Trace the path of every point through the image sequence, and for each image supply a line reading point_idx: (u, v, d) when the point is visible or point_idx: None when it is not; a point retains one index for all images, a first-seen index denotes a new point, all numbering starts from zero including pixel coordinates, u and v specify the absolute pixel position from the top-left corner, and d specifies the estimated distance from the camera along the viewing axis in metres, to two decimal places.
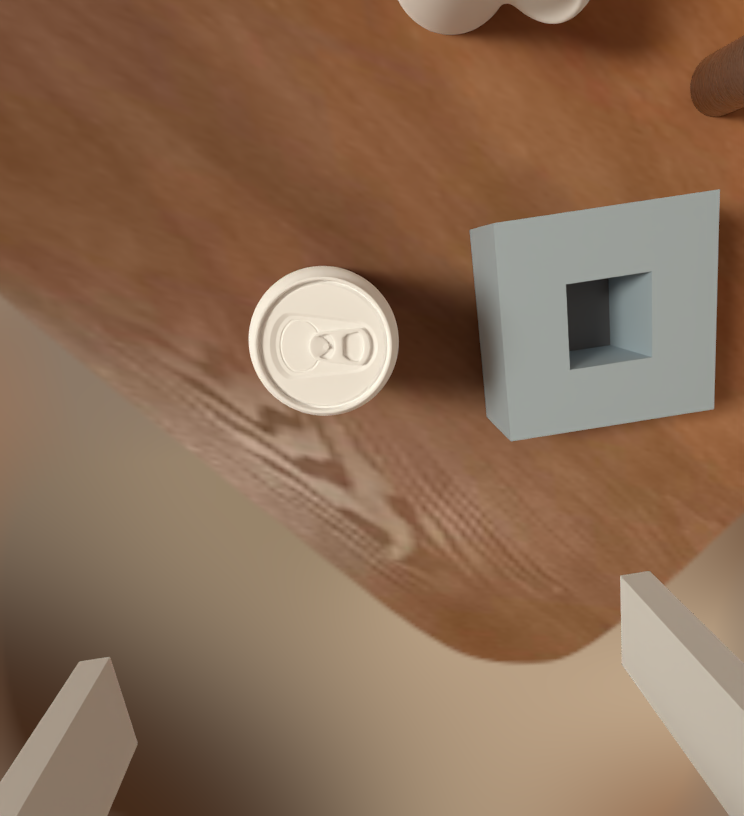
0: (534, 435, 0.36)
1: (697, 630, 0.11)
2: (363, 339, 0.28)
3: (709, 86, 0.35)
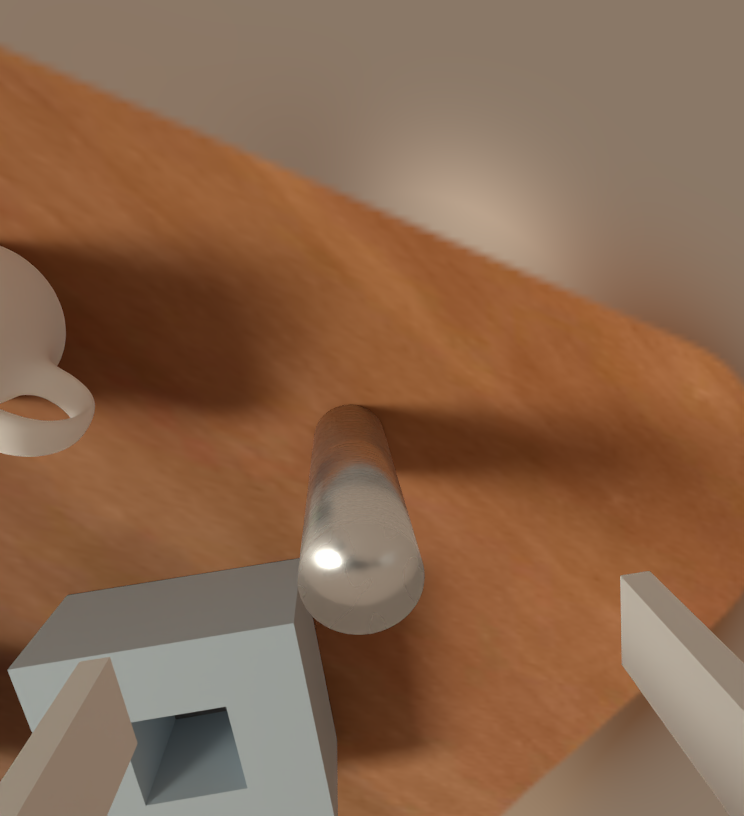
0: None
1: (697, 630, 0.11)
2: None
3: None
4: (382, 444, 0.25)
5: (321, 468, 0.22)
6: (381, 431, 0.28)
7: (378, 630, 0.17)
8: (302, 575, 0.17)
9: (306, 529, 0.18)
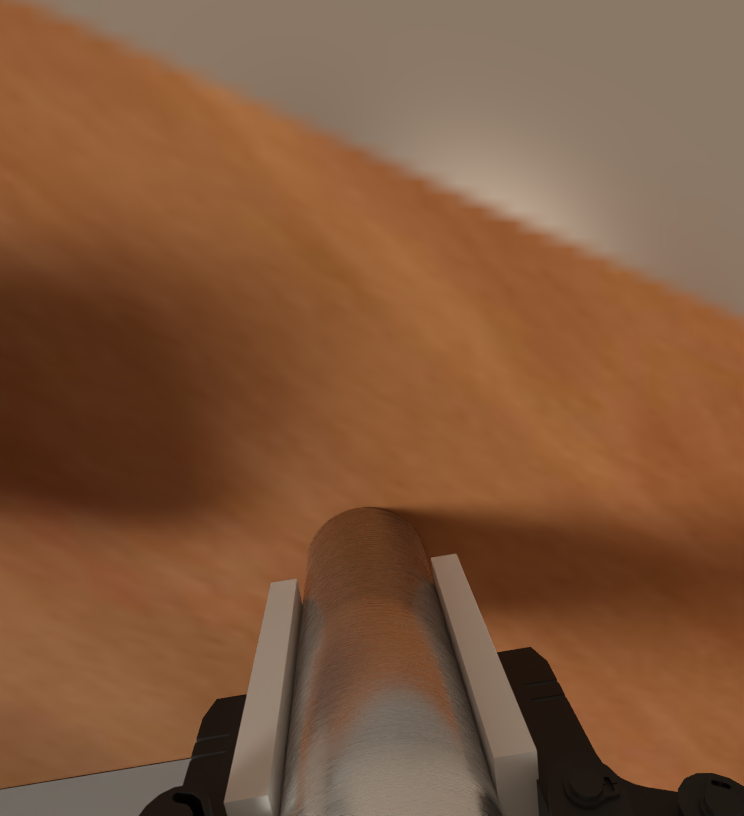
0: None
1: (466, 601, 0.13)
2: None
3: None
4: (434, 620, 0.13)
5: (314, 727, 0.10)
6: (425, 568, 0.16)
7: None
8: None
9: None
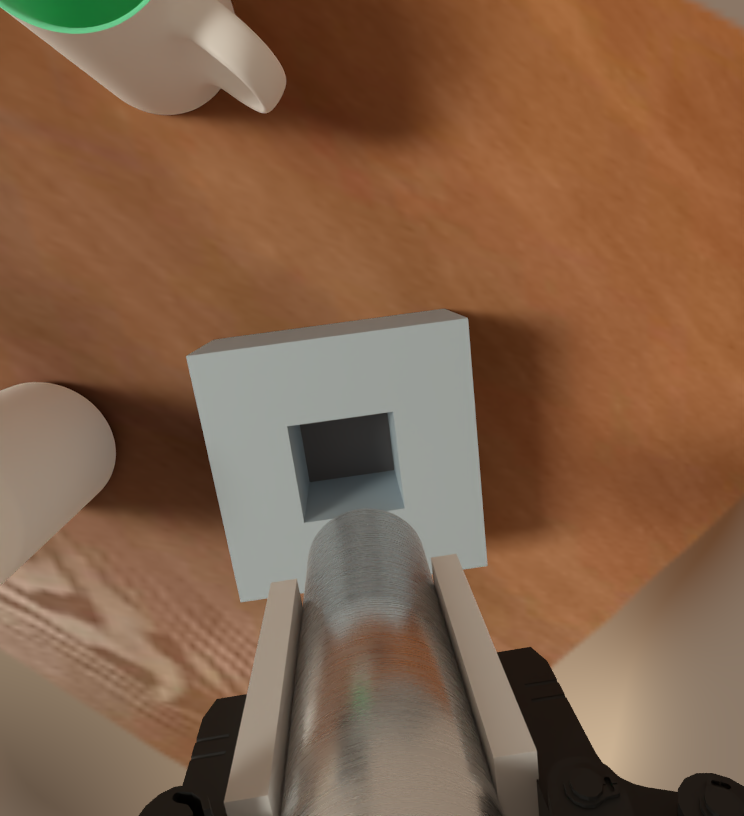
0: None
1: (465, 601, 0.13)
2: None
3: None
4: (435, 621, 0.13)
5: (315, 728, 0.10)
6: (425, 569, 0.16)
7: None
8: None
9: None
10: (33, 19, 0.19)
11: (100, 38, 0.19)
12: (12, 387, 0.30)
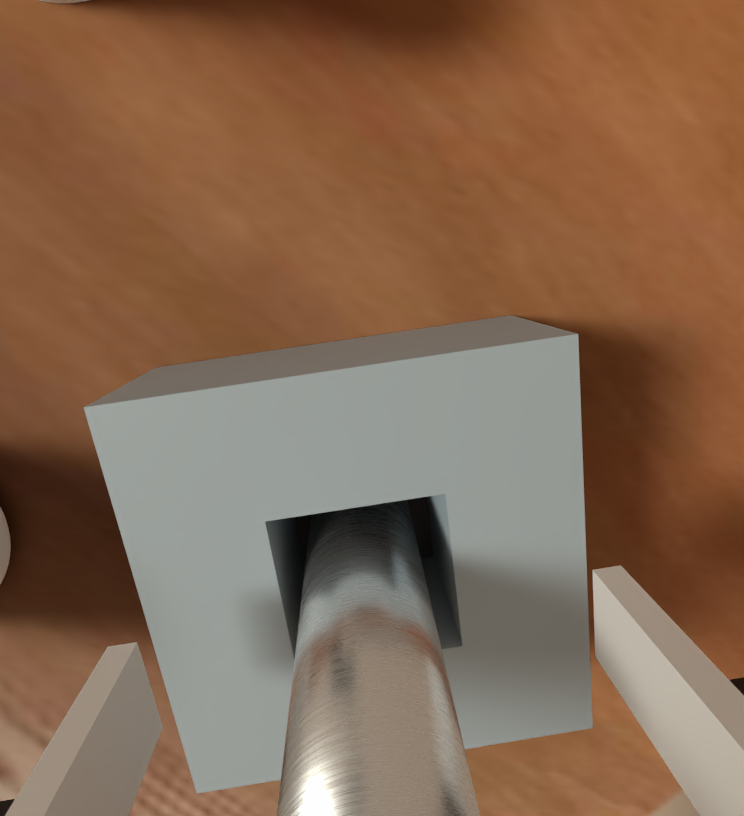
0: (242, 782, 0.18)
1: (661, 621, 0.12)
2: None
3: None
4: (409, 553, 0.17)
5: (316, 621, 0.14)
6: (406, 515, 0.19)
7: None
8: None
9: (284, 798, 0.10)
10: None
11: None
12: None
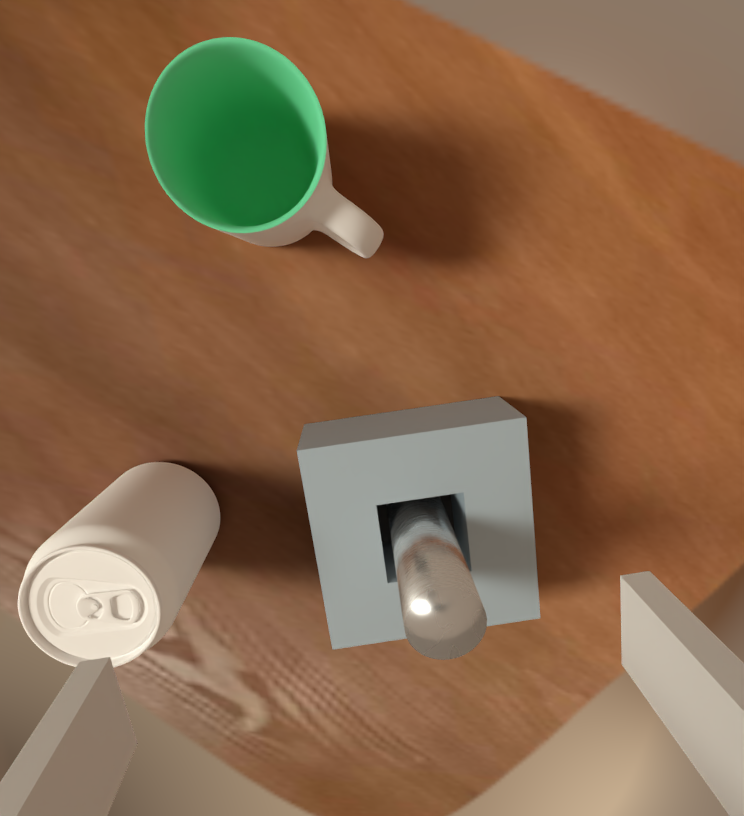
0: (356, 643, 0.35)
1: (697, 630, 0.11)
2: (133, 599, 0.28)
3: None
4: (445, 516, 0.34)
5: (406, 538, 0.31)
6: (441, 502, 0.36)
7: (455, 657, 0.26)
8: (407, 619, 0.25)
9: (405, 587, 0.27)
10: (213, 223, 0.25)
11: (259, 232, 0.25)
12: (141, 468, 0.36)
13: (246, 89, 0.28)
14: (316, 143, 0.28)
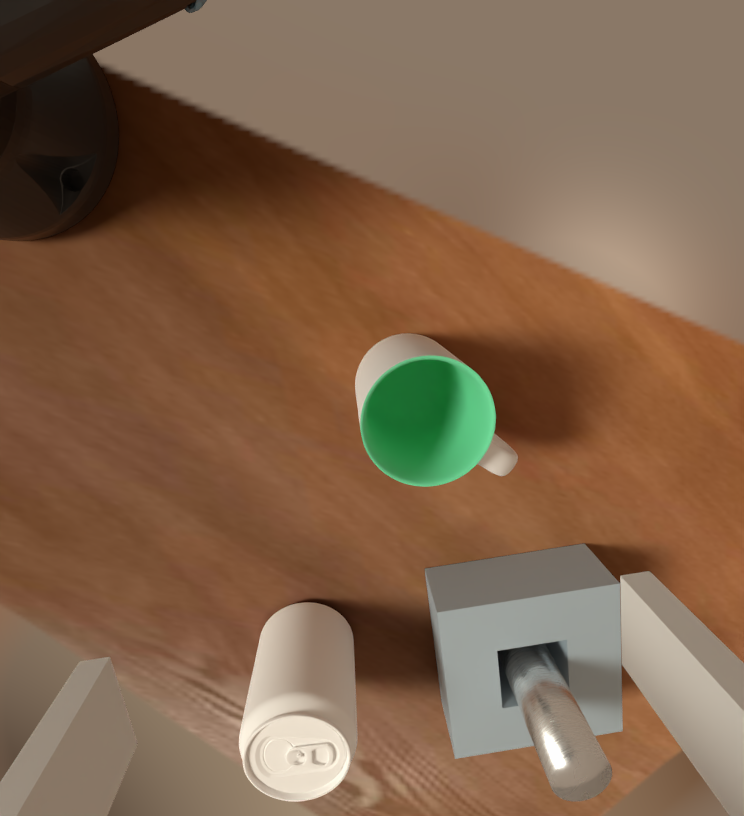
0: (474, 754, 0.44)
1: (697, 630, 0.11)
2: (328, 749, 0.36)
3: None
4: (551, 656, 0.42)
5: (530, 687, 0.39)
6: None
7: (585, 799, 0.34)
8: (553, 775, 0.34)
9: (544, 743, 0.35)
10: (405, 479, 0.32)
11: None
12: (295, 612, 0.44)
13: None
14: (466, 388, 0.36)
